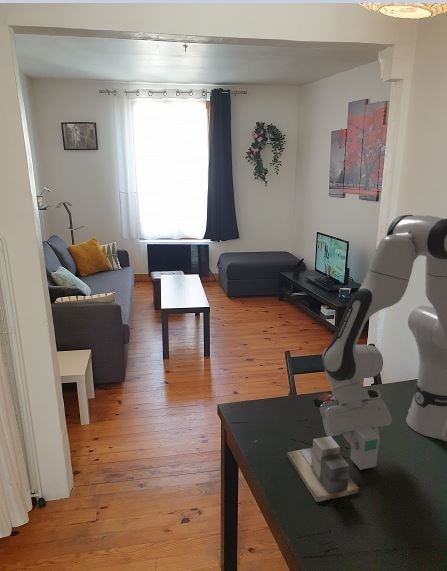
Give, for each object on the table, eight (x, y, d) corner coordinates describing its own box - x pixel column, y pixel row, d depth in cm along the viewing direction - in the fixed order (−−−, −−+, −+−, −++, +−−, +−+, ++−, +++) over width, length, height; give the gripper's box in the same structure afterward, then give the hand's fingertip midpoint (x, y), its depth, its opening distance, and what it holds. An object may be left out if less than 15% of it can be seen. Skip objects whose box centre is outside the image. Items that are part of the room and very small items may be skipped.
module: (365, 455, 122) (368, 425, 119) (376, 466, 117) (380, 436, 115) (350, 458, 121) (353, 428, 118) (360, 470, 116) (364, 439, 113)
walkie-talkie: (309, 406, 150) (361, 431, 136) (310, 395, 149) (362, 419, 135) (323, 397, 156) (374, 420, 142) (324, 386, 154) (375, 409, 140)
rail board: (323, 449, 126) (326, 417, 123) (358, 492, 109) (362, 456, 106) (286, 456, 122) (288, 424, 120) (316, 502, 106) (319, 465, 103)
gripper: (322, 400, 118) (337, 452, 112) (384, 390, 123) (403, 439, 117) (313, 406, 123) (328, 455, 117) (374, 396, 129) (391, 443, 122)
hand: (366, 447), depth 117 cm, fingers closed on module, 5 cm apart
